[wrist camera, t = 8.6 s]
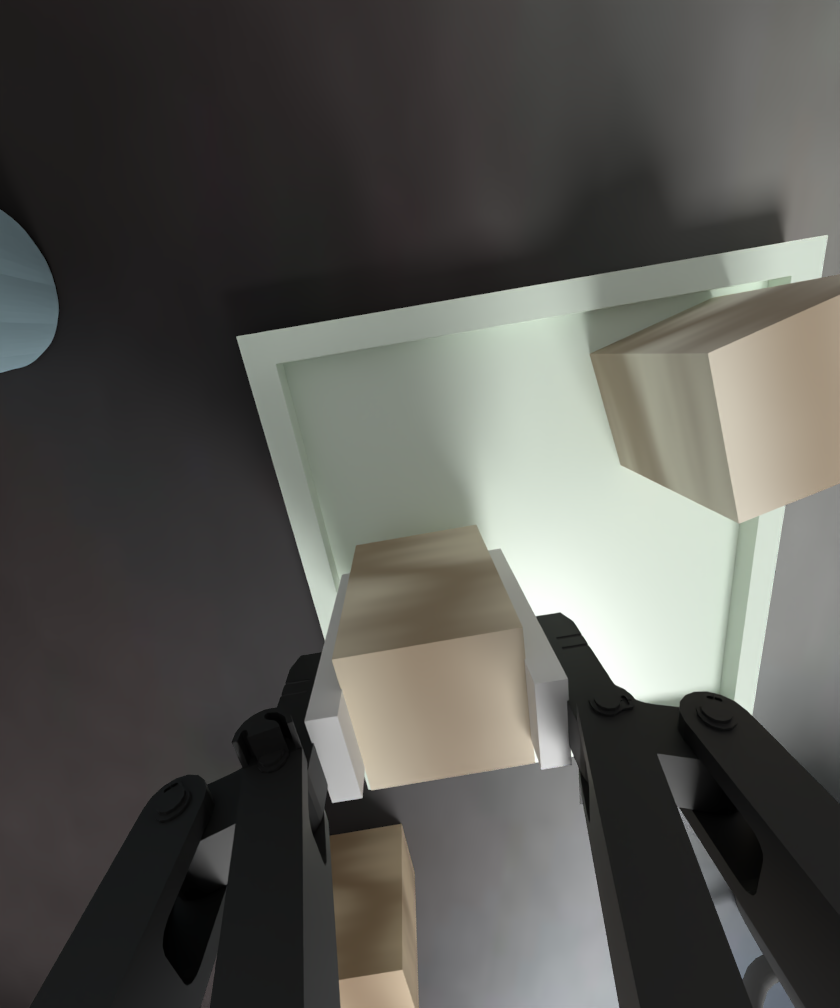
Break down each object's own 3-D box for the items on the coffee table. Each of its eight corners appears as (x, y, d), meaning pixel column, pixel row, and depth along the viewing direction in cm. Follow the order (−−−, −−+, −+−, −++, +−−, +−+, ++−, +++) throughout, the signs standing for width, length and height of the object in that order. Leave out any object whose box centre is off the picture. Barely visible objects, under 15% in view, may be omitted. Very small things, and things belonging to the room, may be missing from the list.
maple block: (620, 465, 16) (738, 523, 11) (589, 354, 15) (708, 353, 9) (733, 417, 16) (919, 451, 10) (713, 297, 14) (917, 260, 9)
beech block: (379, 643, 17) (371, 790, 11) (355, 545, 15) (331, 659, 10) (488, 624, 17) (535, 763, 11) (476, 524, 15) (522, 626, 10)
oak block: (341, 883, 25) (325, 1036, 20) (324, 835, 24) (301, 986, 18) (414, 871, 25) (419, 1020, 20) (401, 823, 24) (402, 969, 18)
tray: (370, 761, 22) (368, 789, 20) (251, 338, 15) (235, 336, 13) (727, 703, 22) (750, 727, 20) (786, 246, 14) (828, 234, 13)
